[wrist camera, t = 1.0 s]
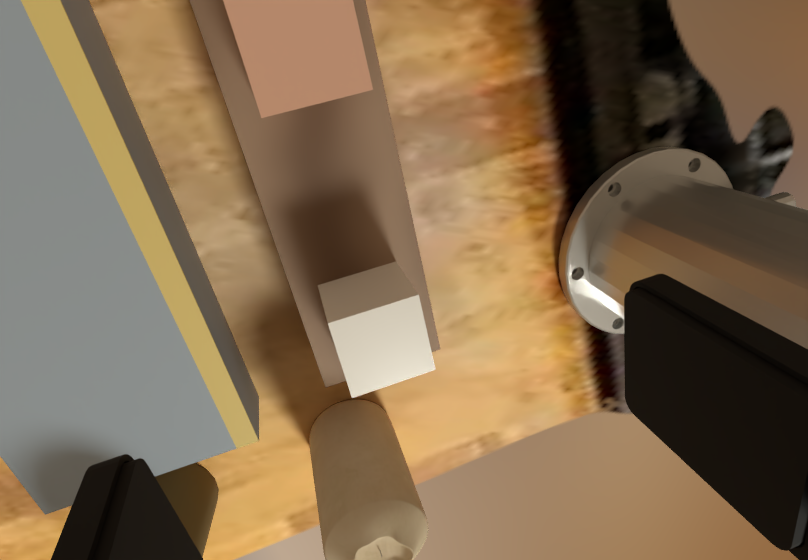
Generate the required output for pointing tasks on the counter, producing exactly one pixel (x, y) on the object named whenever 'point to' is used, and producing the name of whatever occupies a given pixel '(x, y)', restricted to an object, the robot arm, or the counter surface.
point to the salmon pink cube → (299, 51)
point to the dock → (98, 275)
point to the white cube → (377, 328)
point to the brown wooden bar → (322, 182)
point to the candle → (364, 486)
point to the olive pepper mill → (192, 499)
